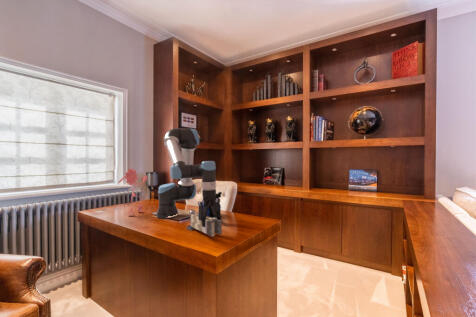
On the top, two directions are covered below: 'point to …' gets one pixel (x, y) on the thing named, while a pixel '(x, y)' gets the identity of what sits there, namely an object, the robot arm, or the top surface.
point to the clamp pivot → (190, 225)
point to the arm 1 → (198, 225)
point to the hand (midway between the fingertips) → (210, 230)
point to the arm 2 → (215, 224)
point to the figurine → (131, 178)
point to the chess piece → (215, 206)
